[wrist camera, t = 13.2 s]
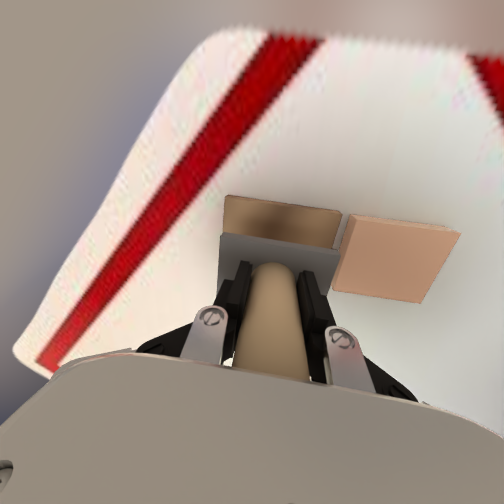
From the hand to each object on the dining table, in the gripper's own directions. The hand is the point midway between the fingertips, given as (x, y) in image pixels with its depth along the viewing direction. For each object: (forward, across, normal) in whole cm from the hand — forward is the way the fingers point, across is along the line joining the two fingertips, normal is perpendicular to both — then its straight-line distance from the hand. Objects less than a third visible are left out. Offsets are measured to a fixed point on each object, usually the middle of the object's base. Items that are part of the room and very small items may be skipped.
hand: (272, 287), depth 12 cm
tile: (+8, -14, 0) cm, 16 cm away
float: (+1, 0, 0) cm, 1 cm away
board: (+8, 0, 0) cm, 8 cm away
